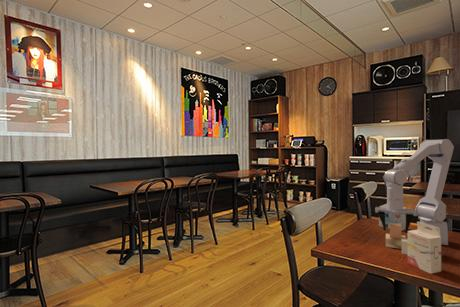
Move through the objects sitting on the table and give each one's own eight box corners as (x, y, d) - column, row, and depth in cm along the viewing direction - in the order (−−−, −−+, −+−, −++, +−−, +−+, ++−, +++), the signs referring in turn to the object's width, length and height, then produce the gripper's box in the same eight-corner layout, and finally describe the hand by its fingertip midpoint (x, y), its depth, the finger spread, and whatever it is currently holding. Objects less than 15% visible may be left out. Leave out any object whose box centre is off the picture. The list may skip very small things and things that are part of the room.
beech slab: (405, 244, 112) (405, 235, 112) (406, 249, 106) (405, 240, 106) (386, 241, 116) (385, 233, 116) (385, 246, 110) (385, 238, 110)
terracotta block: (401, 236, 112) (400, 224, 112) (401, 239, 108) (401, 227, 108) (389, 234, 114) (389, 223, 114) (389, 237, 110) (389, 225, 110)
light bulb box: (378, 226, 137) (378, 205, 137) (384, 224, 141) (384, 203, 141) (401, 231, 128) (401, 209, 128) (407, 228, 132) (407, 207, 132)
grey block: (413, 252, 104) (413, 239, 104) (414, 256, 100) (414, 242, 100) (401, 250, 106) (401, 238, 106) (401, 254, 102) (401, 241, 102)
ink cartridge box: (406, 263, 94) (406, 222, 94) (417, 261, 95) (416, 220, 95) (431, 274, 86) (430, 229, 86) (442, 271, 87) (441, 227, 87)
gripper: (374, 199, 111) (375, 231, 111) (416, 201, 103) (417, 236, 104) (375, 196, 117) (376, 226, 117) (415, 198, 109) (415, 231, 110)
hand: (395, 231), depth 111 cm, fingers open, 7 cm apart
